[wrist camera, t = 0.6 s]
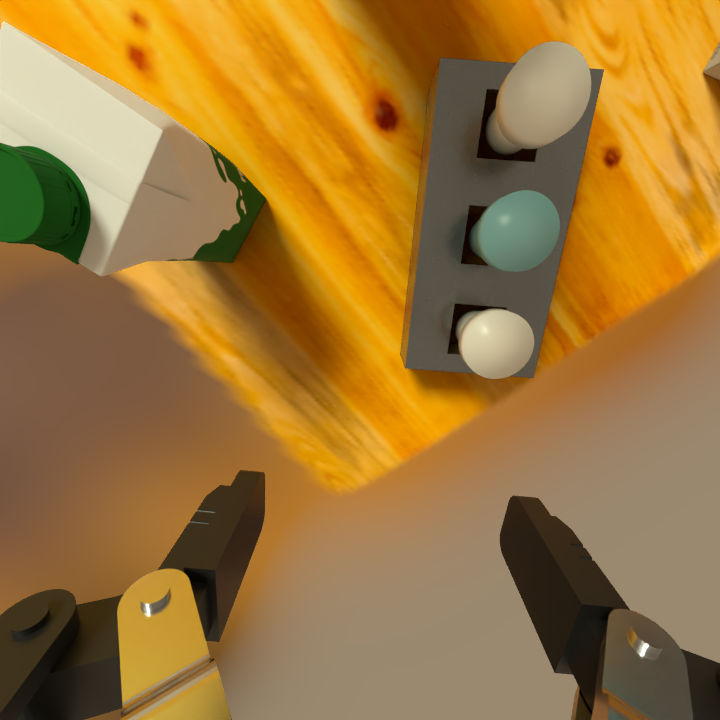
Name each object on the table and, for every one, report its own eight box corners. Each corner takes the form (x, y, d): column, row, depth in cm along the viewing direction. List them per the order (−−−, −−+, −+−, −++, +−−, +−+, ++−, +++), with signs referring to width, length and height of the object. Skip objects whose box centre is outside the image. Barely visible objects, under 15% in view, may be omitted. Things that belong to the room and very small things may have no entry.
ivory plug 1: (450, 299, 31) (469, 308, 25) (508, 303, 30) (541, 314, 25) (442, 355, 32) (458, 376, 26) (497, 359, 32) (526, 381, 26)
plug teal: (464, 201, 28) (489, 187, 22) (527, 206, 28) (568, 193, 22) (455, 266, 30) (475, 269, 24) (514, 271, 30) (550, 274, 24)
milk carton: (157, 225, 34) (-122, 181, 14) (197, 136, 31) (-71, -54, 12) (236, 276, 35) (75, 298, 16) (280, 194, 33) (154, 103, 13)
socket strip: (428, 89, 30) (440, 57, 25) (566, 99, 30) (603, 69, 25) (400, 353, 37) (405, 368, 32) (511, 362, 37) (533, 377, 32)
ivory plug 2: (481, 87, 26) (513, 38, 20) (549, 92, 26) (601, 44, 20) (470, 163, 27) (497, 138, 22) (534, 168, 27) (578, 144, 22)
